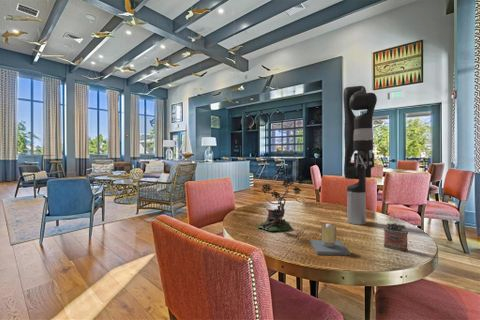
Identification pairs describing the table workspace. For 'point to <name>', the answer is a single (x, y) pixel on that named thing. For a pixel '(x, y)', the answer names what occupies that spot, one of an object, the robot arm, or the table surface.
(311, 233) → the table surface
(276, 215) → the bonsai tree
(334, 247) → the grey peg stand
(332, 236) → the bushing
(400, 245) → the small tin
